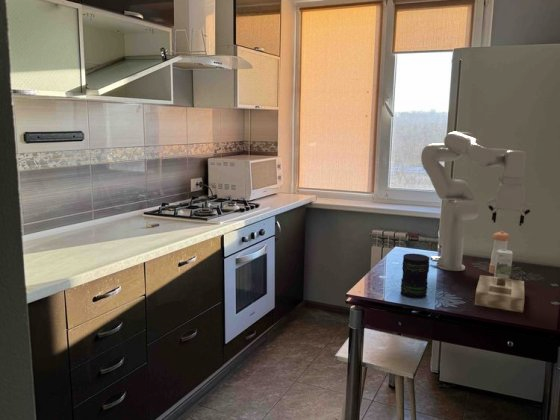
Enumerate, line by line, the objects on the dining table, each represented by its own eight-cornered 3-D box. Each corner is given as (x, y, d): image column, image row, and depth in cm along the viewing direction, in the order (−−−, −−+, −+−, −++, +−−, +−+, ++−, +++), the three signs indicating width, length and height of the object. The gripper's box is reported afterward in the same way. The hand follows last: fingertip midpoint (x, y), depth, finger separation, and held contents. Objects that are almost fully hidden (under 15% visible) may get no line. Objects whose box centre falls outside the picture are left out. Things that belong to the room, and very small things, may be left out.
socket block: (474, 304, 184) (475, 291, 183) (479, 286, 206) (480, 274, 205) (522, 312, 178) (524, 299, 177) (522, 293, 199) (523, 281, 198)
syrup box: (507, 283, 211) (511, 249, 209) (509, 287, 206) (513, 253, 204) (493, 281, 213) (496, 248, 211) (494, 285, 208) (497, 251, 205)
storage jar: (422, 300, 187) (425, 261, 184) (396, 295, 192) (399, 257, 189) (429, 293, 195) (433, 256, 193) (405, 288, 200) (407, 252, 198)
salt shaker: (488, 273, 225) (493, 231, 222) (488, 269, 232) (493, 228, 229) (506, 275, 223) (511, 233, 220) (506, 271, 229) (510, 230, 226)
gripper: (488, 180, 201) (483, 222, 204) (536, 184, 194) (530, 228, 197) (489, 178, 208) (485, 219, 211) (536, 182, 200) (531, 224, 204)
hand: (507, 223), depth 204 cm, fingers open, 9 cm apart
